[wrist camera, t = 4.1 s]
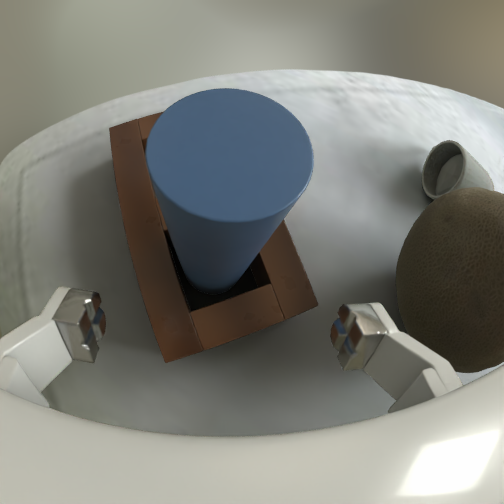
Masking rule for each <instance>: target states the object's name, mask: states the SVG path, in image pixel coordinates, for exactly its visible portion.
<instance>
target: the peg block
mask: <svg viewBox="0 0 504 504" xmlns="http://www.w3.org/2000/svg"><path fill="white" fill-rule="evenodd" d="M162 113H163V112H161V113H157V114H153V115H150V116H146V117H143V118H139V119H135V120H132V121H129V122H126V123H123V124H120V125H117V126H114V127H111V128H109V131H110V141H111V150H112V158H113V166H114V173H115V179H116V186H117V192H118V197H119V203H120V208H121V213H122V218H123V223H124V228H125V232H126V237H127V241H128V245H129V250H130V254H131V258H132V262H133V265H134V269H135V273H136V277H137V280H138V284H139V287H140V291H141V294H142V297H143V301H144V304H145V307H146V310H147V313H148V316H149V319H150V322H151V325H152V328H153V331H154V334H155V337H156V340H157V342H158V345H159V348H160V350H161V353H162V356H163V358H164V361H165V363H168V362H171V361H174V360H177V359H180V358H184V357H187V356H190V355H193V354H196V353H199V352H202V351H203V350H207V349H210V348H213V347H216V346H219V345H222V344H224V343H227V342H230V341H233V340H235V339H238V338H241V337H243V336H246V335H249V334H251V333H254V332H257V331H259V330H262V329H264V328H267V327H269V326H272V325H274V324H277V323H279V322H281V321H284V320H286V319H289V318H291V317H293V316H296V315H298V314H301V313H303V312H305V311H307V310H310V309H312V308H314V307H316V306H318V302H317V300H316V297H315V295H314V292H313V290H312V287H311V284H310V282H309V279H308V277H307V274H306V272H305V269H304V267H303V264H302V262H301V259H300V257H299V255H298V252H297V250H296V247H295V245H294V242H293V240H292V238H291V235H290V233H289V230H288V228H287V226H286V223H285V221H284V219H283V220H282V222H281V223H280V225H279V226H278V227H277V229H276V230H275V231H274V233H273V234H272V235H271V237H270V238H269V239H268V241H267V242H266V244H265V245H264V246H263V248H262V249H261V250H260V252H259V253H258V254H257V256H256V257H255V258H254V260H253V261H252V262H251V264H250V265H249V266H250V268H251V271H252V274H253V276H254V279H255V281H256V284H257V287H258V288H257V289H254V290H252V291H249V292H246V293H243V294H240V295H238V296H235V297H232V298H229V299H226V300H223V301H221V302H218V303H215V304H212V305H209V306H206V307H203V308H200V309H197V310H194V311H191V309H190V307H189V304H188V301H187V298H186V295H185V292H184V289H183V286H182V283H181V280H180V277H179V274H178V271H177V268H176V264H175V261H174V258H173V255H172V251H171V248H170V247H174V245H173V242H172V240H171V237H170V234H169V231H168V229H167V226H166V223H165V220H164V217H163V215H162V212H161V209H160V206H159V203H158V200H157V198H156V194H155V191H154V188H153V185H152V182H151V179H150V175H149V172H148V169H147V166H146V159H145V149H146V143H147V138H148V136H149V133H150V131H151V129H152V127H153V125H154V123H155V122H156V120H157V119H158V118H159V116H160V115H161V114H162Z"/></svg>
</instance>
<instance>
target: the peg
mask: <svg viewBox="0 0 504 504" xmlns="http://www.w3.org/2000/svg"><path fill="white" fill-rule="evenodd" d="M145 159H146V166H147V169H148V172H149V175H150V179H151V182H152V185H153V188H154V191H155V194H156V197H157V200H158V203H159V206H160V209H161V212H162V215H163V217H164V220H165V223H166V226H167V229H168V231H169V234H170V237H171V240H172V242H173V245H174V248H175V250H176V253H177V256H178V258H179V261H180V263H181V266H182V268H183V271H184V273H185V276H186V278H187V280H188V282H189V283H190V284H191V285H192V286H193V287H194V288H195V289H196V290H198V291H200V292H202V293H205V294H210V295H215V294H221V293H224V292H226V291H228V290H230V289H231V288H232V287H233V286H234V285H235V284H236V283H237V281H238V280H239V279H240V277H241V276H242V275H243V273H244V272H245V271H246V269H247V268H248V266H249V265H250V264H251V262H252V261H253V260H254V258H255V257H256V256H257V254H258V253H259V252H260V250H261V249H262V248H263V246H264V245H265V244H266V242H267V241H268V239H269V238H270V237H271V235H272V234H273V233H274V231H275V230H276V229H277V227H278V226H279V225H280V223H281V222H282V220H283V219H284V218H285V216H286V215H287V214H288V212H289V211H290V210H291V208H292V207H293V206H294V204H295V203H296V201H297V200H298V199H299V197H300V196H301V195H302V193H303V192H304V191H305V189H306V187H307V185H308V183H309V181H310V179H311V176H312V172H313V165H314V155H313V149H312V145H311V142H310V139H309V136H308V134H307V132H306V130H305V129H304V127H303V126H302V124H301V123H300V122H299V121H298V119H297V118H296V117H295V116H294V115H293V114H292V113H291V112H290V111H288V110H287V109H286V108H285V107H283V106H282V105H280V104H279V103H277V102H275V101H274V100H272V99H270V98H268V97H265V96H263V95H260V94H257V93H254V92H250V91H246V90H240V89H229V88H224V89H211V90H206V91H201V92H198V93H194V94H191V95H189V96H187V97H185V98H182V99H181V100H179V101H177V102H176V103H174V104H173V105H171V106H170V107H169V108H167V109H166V110H165V111H164V112H163V113H162V114H161V115H160V116H159V118H158V119H157V120H156V122H155V123H154V125H153V127H152V129H151V131H150V133H149V136H148V138H147V143H146V149H145Z"/></svg>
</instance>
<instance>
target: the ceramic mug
mask: <svg viewBox="0 0 504 504" xmlns="http://www.w3.org/2000/svg"><path fill="white" fill-rule="evenodd" d="M422 186H423V189H424V191H425V193H426V194H427V195H428V196H429V197H430V198H432V199H433V200H435V199H437V198H438V197H440V196H442V195H444V194H446V193H448V192H451V191H454V190H457V189H460V188H469V187H480V188H485V189H488V190H490V191H494V185H493V182H492V179H491V178H490V176H489V174H488V173H487V171H486V170H485V169H484V168H483V167H482V166H481V165H480V164H479V163H478V162H477V161H476V160H475V159H474V158H473V157H472V156H471V155H470V154H469V153H468V152H467V151H466V150H465V149H464V148H463V147H462V146H461V145H460V144H459V143H457V142H455V141H451V140H448V141H444V142H441V143H440V144H438V145H437V146H434V147H433V148H432V150H431V151H430V153H429V156H428V157H427V159H426V161H425V164H424V167H423V171H422Z"/></svg>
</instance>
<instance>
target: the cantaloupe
mask: <svg viewBox="0 0 504 504" xmlns="http://www.w3.org/2000/svg"><path fill="white" fill-rule="evenodd" d="M396 289H397V300H398V307H399V311H400V314H401V317H402V320H403V323H404V326H405V328H406V330H407V332H408V334H409V336H410V337H412V338H413V339H415V340H417V341H418V342H420V343H421V344H423V345H424V346H426V347H427V348H429V349H430V350H432V351H434V352H435V353H437V354H438V355H440V356H441V357H443V358H444V359H446V360H447V361H449V363H450V364H451V366H452V367H453V369H454V371H456V372H461V373H474V372H479V371H482V370H485V369H487V368H491V367H495V366H497V365H499V364H501V363H502V362H504V194H502V193H499V192H496V191H490V190H488V189H485V188H480V187H469V188H460V189H457V190H454V191H451V192H448V193H446V194H444V195H442V196H440V197H438V198H437V199H435V200H434V201H433V202H432V203H430V204H429V205H428V206H427V207H426V209H425V210H424V211H423V212H422V214H421V215H420V216H419V217H418V219H417V220H416V221H415V223H414V224H413V226H412V228H411V230H410V231H409V233H408V235H407V237H406V239H405V241H404V244H403V246H402V249H401V252H400V255H399V258H398V262H397V268H396Z"/></svg>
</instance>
